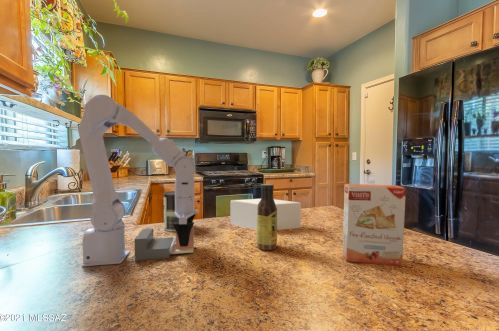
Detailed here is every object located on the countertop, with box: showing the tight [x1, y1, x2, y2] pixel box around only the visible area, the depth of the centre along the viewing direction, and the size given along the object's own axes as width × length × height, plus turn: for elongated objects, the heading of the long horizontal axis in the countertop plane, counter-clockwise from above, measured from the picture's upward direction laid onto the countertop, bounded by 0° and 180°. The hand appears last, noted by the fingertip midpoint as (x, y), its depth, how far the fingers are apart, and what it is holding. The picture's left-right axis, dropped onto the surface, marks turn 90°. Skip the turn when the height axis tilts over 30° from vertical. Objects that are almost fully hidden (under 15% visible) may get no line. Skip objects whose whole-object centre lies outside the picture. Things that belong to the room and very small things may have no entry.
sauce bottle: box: [256, 183, 278, 251], centre depth 73 cm, size 7×6×20 cm
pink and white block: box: [170, 225, 195, 255], centre depth 69 cm, size 16×6×7 cm, turn 101°
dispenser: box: [133, 227, 176, 262], centre depth 69 cm, size 10×9×6 cm
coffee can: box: [162, 190, 179, 233], centre depth 93 cm, size 10×10×14 cm
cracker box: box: [342, 183, 407, 267], centre depth 64 cm, size 14×6×21 cm, turn 79°
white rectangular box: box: [229, 198, 302, 231], centre depth 96 cm, size 14×29×10 cm, turn 81°
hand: (185, 241), depth 70 cm, fingers open, 7 cm apart
